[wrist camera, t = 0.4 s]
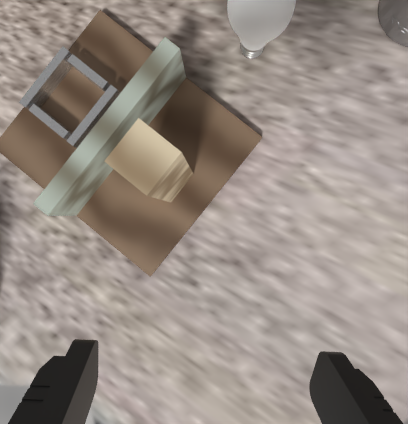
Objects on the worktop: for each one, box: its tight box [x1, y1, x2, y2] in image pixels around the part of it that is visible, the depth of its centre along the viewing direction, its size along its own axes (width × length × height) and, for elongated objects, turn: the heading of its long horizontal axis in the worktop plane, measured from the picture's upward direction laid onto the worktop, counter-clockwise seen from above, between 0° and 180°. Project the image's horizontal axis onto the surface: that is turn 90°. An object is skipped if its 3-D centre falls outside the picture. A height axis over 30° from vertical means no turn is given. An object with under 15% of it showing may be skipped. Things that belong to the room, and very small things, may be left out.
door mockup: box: [0, 10, 262, 276], centre depth 32 cm, size 22×26×7 cm
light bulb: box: [227, 0, 296, 59], centre depth 30 cm, size 7×7×11 cm
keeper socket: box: [19, 47, 120, 148], centre depth 34 cm, size 8×8×2 cm
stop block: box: [104, 118, 193, 202], centre depth 29 cm, size 4×4×12 cm
